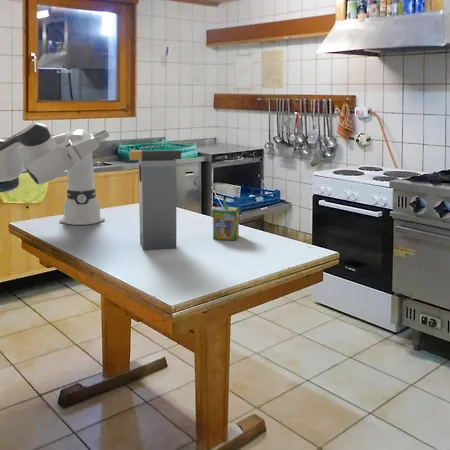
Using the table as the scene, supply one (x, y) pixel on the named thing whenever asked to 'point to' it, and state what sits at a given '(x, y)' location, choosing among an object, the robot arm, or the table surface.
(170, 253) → the table surface
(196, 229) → the table surface
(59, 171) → the robot arm
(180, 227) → the table surface
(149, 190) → the housing
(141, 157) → the plug rod
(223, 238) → the chalk box
